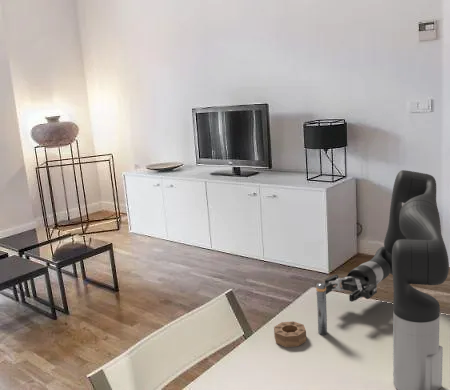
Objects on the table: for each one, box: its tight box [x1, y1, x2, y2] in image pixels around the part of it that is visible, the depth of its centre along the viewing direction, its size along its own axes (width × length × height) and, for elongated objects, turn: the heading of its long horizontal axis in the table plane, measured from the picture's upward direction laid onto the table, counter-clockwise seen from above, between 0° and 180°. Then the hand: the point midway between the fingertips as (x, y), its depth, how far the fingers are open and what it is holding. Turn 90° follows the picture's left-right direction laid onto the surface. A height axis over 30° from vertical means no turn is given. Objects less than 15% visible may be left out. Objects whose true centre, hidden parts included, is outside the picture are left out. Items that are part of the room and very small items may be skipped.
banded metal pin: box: [315, 282, 328, 336], centre depth 132 cm, size 3×3×14 cm
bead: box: [273, 320, 307, 348], centre depth 131 cm, size 8×8×3 cm
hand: (336, 294), depth 137 cm, fingers open, 8 cm apart
